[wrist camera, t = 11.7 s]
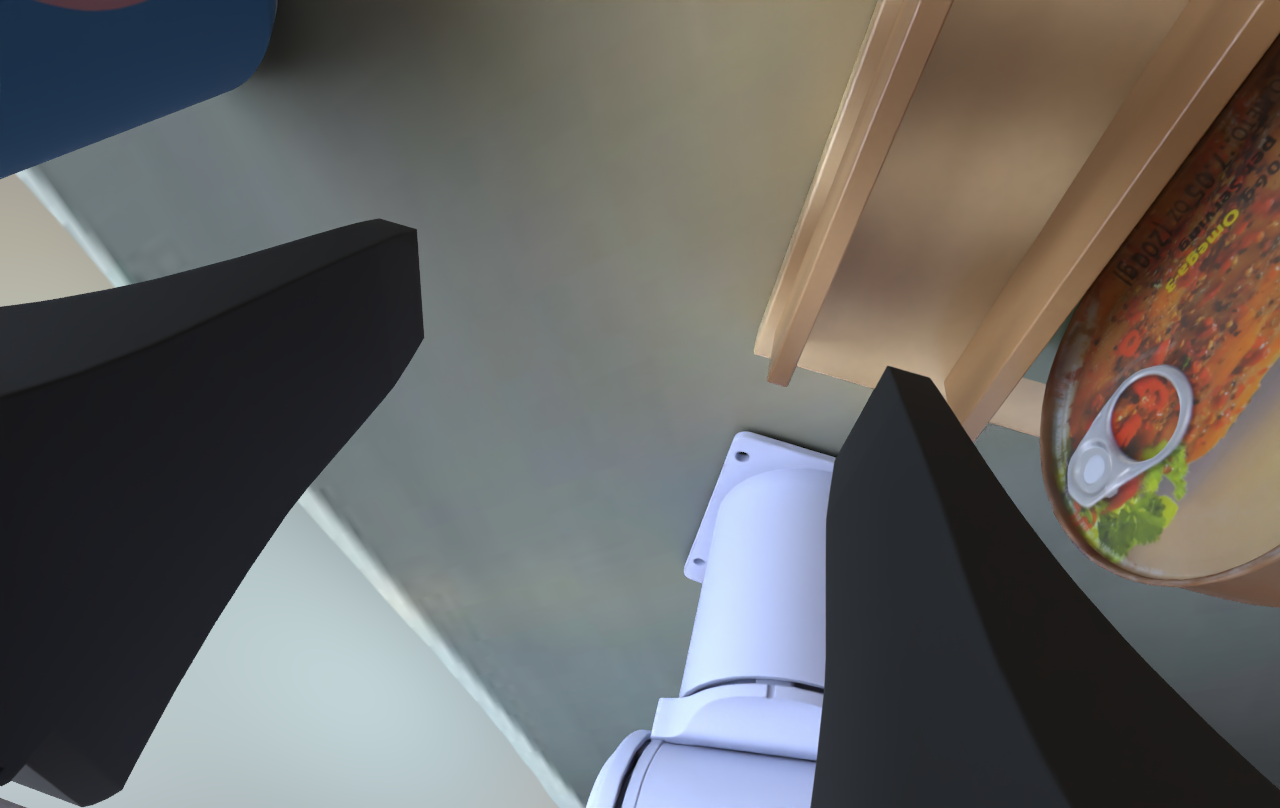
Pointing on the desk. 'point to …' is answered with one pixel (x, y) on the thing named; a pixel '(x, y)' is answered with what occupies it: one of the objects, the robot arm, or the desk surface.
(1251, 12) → the rack
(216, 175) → the desk surface
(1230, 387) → the tin
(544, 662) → the desk surface
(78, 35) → the soda can
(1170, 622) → the desk surface
